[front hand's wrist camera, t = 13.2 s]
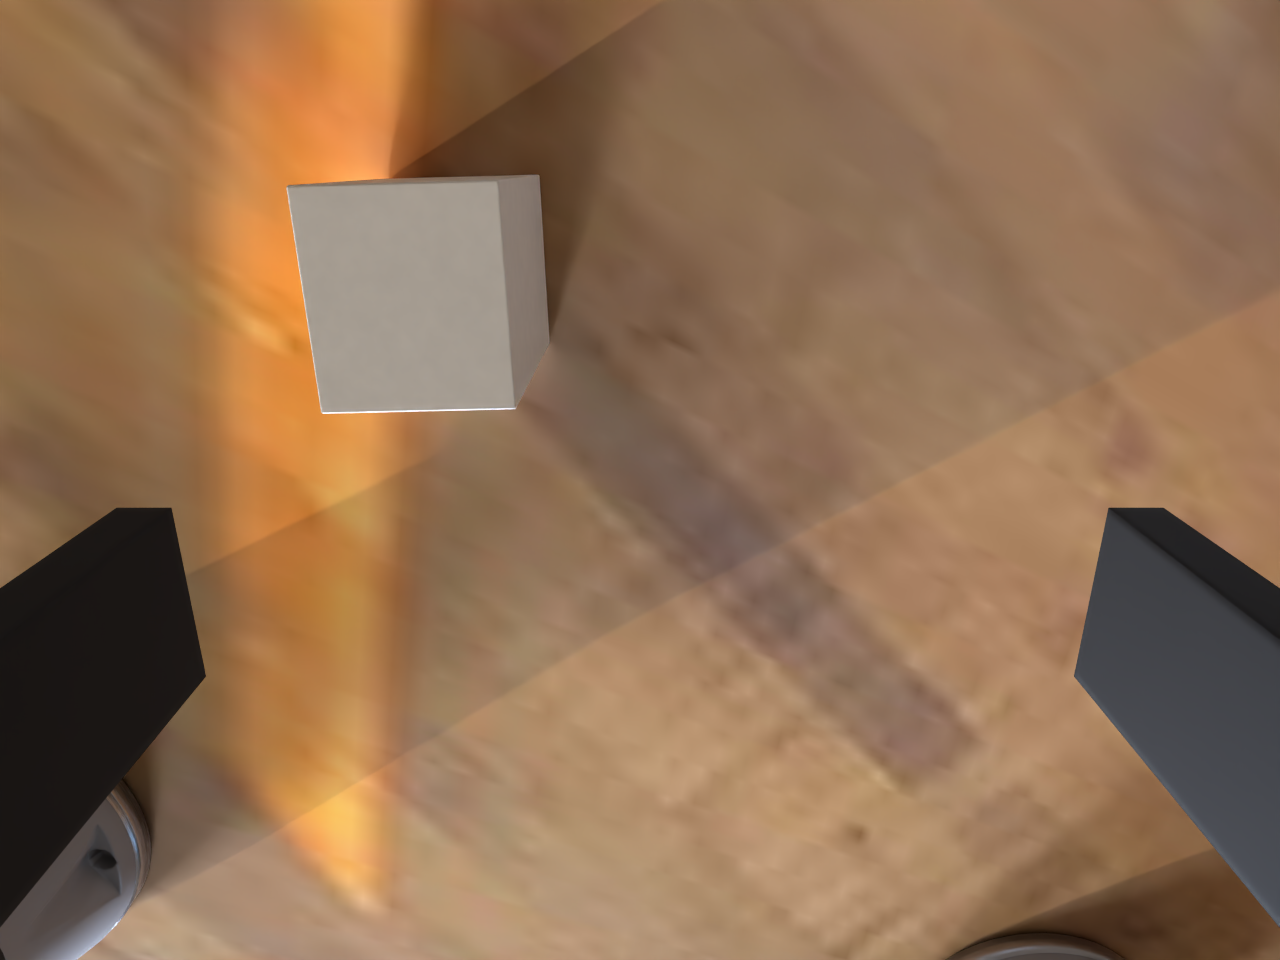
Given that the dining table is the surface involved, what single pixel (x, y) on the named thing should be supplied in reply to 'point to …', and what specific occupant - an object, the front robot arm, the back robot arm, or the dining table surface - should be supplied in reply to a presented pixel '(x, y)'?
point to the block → (422, 290)
